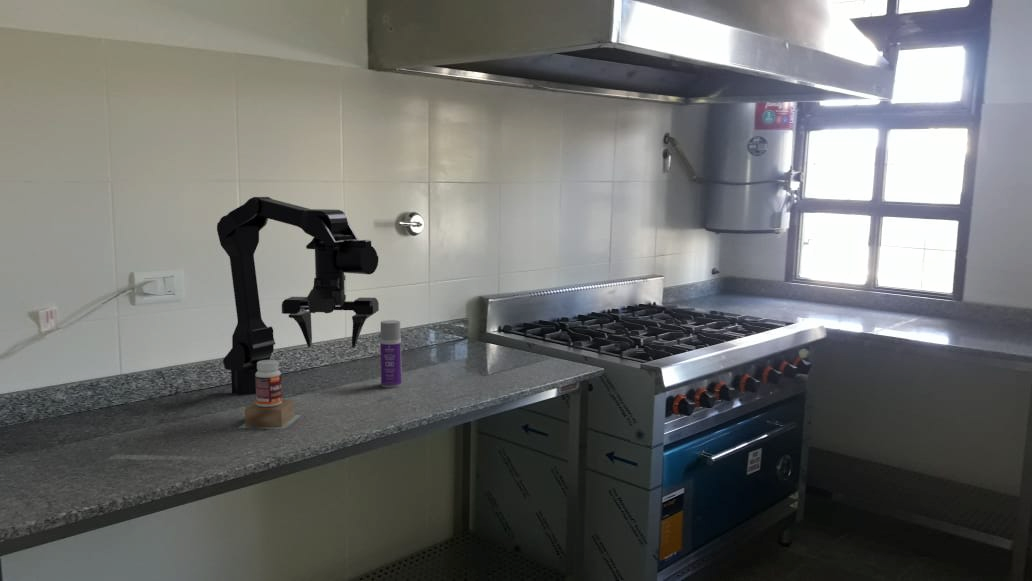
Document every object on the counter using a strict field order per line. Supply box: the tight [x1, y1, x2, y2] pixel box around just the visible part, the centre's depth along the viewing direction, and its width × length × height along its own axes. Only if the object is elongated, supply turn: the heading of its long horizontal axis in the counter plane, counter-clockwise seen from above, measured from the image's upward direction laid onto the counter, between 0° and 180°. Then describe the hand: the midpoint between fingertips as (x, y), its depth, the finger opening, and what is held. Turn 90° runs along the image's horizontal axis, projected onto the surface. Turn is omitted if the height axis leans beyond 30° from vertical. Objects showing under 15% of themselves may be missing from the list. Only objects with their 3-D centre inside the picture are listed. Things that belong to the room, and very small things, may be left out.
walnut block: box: [244, 399, 295, 427], centre depth 153 cm, size 7×7×3 cm
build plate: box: [238, 414, 301, 430], centre depth 154 cm, size 17×12×1 cm
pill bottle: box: [255, 359, 283, 407], centre depth 153 cm, size 5×5×8 cm
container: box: [380, 319, 402, 389], centre depth 183 cm, size 5×5×15 cm
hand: (331, 347), depth 163 cm, fingers open, 9 cm apart
